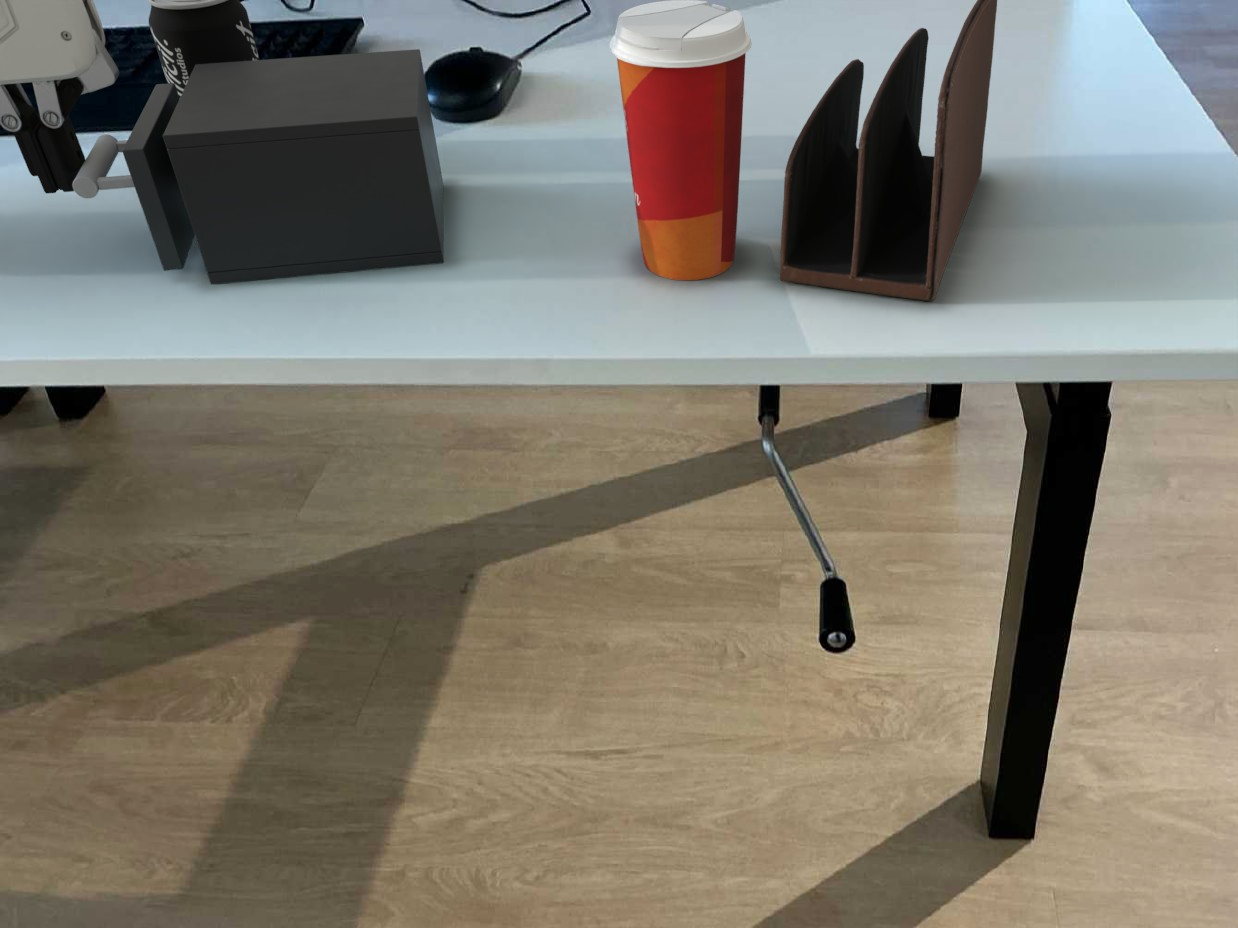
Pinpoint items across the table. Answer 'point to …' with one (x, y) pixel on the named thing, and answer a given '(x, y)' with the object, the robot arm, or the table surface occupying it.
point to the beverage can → (199, 35)
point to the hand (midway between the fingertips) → (64, 183)
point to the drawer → (146, 177)
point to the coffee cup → (683, 130)
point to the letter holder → (888, 172)
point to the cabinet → (309, 165)
